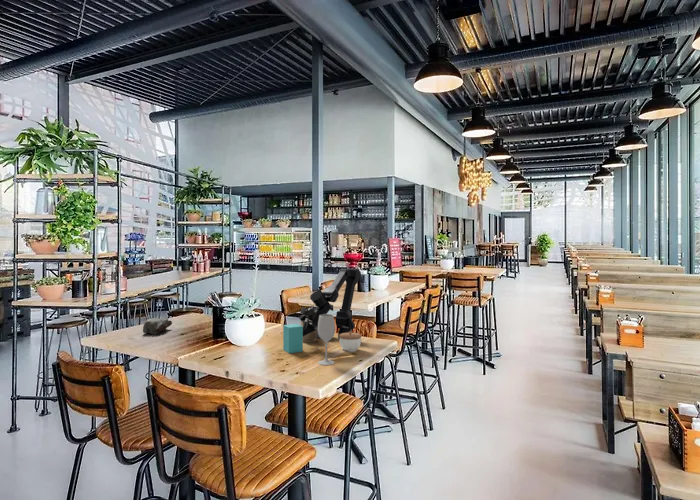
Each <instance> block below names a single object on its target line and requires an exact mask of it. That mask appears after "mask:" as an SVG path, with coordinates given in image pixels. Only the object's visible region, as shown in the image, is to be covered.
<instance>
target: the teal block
mask: <svg viewBox="0 0 700 500" xmlns="http://www.w3.org/2000/svg"><path fill="white" fill-rule="evenodd" d="M282 327H283V328H282V329H283V331H282V332H283V335H282V336H283V337H282V342H283V345H282V346H283V349H282V350H283V351H284V352H286V353H288V354H293V353H301V352H303V351H304V350H303V347H304V345H303V344H304V342H303V326H301V324H298V323H291V324H284V325H283V326H282Z"/></svg>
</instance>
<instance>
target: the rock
mask: <svg viewBox="0 0 700 500" xmlns="http://www.w3.org/2000/svg"><path fill="white" fill-rule="evenodd" d="M172 324H173V321H172V320H169V318H168V317H167V316H166V317H163V318H161V317H153V318H152V317H151V318H149V319H146V321H145V322H144V324H143V327H142V332H143V334H148V333H150V334H151V335H156V333H157V334H158V333H161V332H162V331H165V330H166V329H167V328H169V327H171V326H172Z"/></svg>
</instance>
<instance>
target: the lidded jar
mask: <svg viewBox="0 0 700 500" xmlns="http://www.w3.org/2000/svg"><path fill="white" fill-rule="evenodd" d="M339 337H340V339H339V345H340V347H341V349H342V350H344V351H346V352H349V353H355V352H357V350H359V348H360V347H361V344H362V343H361V342H362V334H360V333H358V332H352V333H351V331H349V333H342V334H340V335H339Z"/></svg>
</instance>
